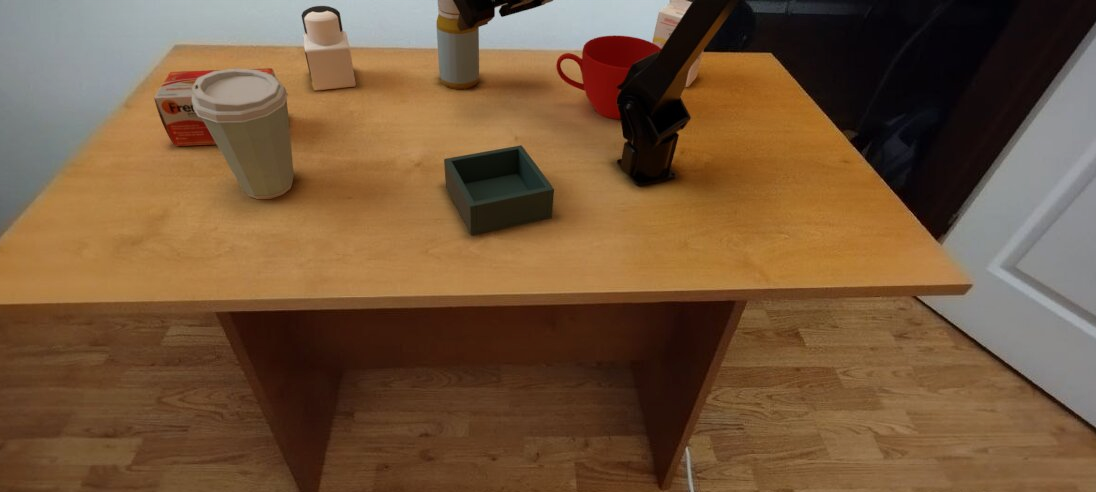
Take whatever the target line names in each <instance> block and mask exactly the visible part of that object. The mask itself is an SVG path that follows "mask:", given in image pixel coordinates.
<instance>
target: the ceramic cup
mask: <svg viewBox="0 0 1096 492" xmlns="http://www.w3.org/2000/svg"><path fill="white" fill-rule="evenodd" d="M660 50H661V48H660V47H658V46H657V45H655V44H653V43H652V41H649V40H646V39H642V38H640V37H634V36H629V35H604V36H603V35H602V36H598V37H594V38H592V39H589V40H588V41H586V42H585V44H584V45H583V47H582V53H581V57H580V56H578V55H576V54H574V53H570V52H567V53H566V52H565V53H563V54H561V55H560V56H559V57H558V59H557V60H556V66H555V67H556V71H557V74H558V75H559V77H560V78H561V79H562V81H563V82H565V83H566V84H568V85H570V86H572V87H574V88H576V89H579V90H580V91H584V92H585V95H586V98H587V99H588V101H589V102H590V104H591V105H592V106H593V108H594V110H595V111H596V112H597V113H598V114H599V115H601V116H603V117H605V118H608V119H615V120H621V118H620V112H619V110H618V105H617V103H616V100H617V96H618V94H619V92H620V91H621V89H618V88H617V86H618V85H620V84H622V82H623V81H624V80H625V78H626V76H627V74H628V71H629V69H630V67H631V66H632V64H634V63H636V62H638V61H640V60H642V59H644V58H646V57H648V56H650V55H652V54H654V53H656V52H658V53H659V52H660ZM564 60H572V61H574V62H575V63H577V65H578V66H579V69H580V72H581V78H582V83H581V82H579V81H576V80H574V79H572V78H570V77H568V76H567V75H566V74H565V73H564V71H563V70H562V66H561V65H562V62H563V61H564Z"/></svg>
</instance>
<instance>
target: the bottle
mask: <svg viewBox="0 0 1096 492" xmlns="http://www.w3.org/2000/svg"><path fill="white" fill-rule="evenodd" d="M437 12H438V14H437V19H436V39H437V57H438V58H437V59H438V73H439V80H440V82H441V83H442V84H443V85H444V86H445V87H447V88H449V89H453V90H454V89H455V90H465V89H470V88H473V87H474V86H475V85H477V84H478V82H479V80H480V32H479V31H480V29H479V28H480V27H477V28H472V29H467V30H463V31H460V30H459V29H458V27H457V21H458V17H459V11H458V9H457V7H456V5H455V3H454V1H453V0H437Z"/></svg>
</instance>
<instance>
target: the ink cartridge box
mask: <svg viewBox="0 0 1096 492" xmlns="http://www.w3.org/2000/svg"><path fill="white" fill-rule="evenodd" d="M692 2H693V1H689V0H669V3H668V4H667V5H666V6H664V7H663V8H662V9H660V10H659V11H658V14H657V18H656V21H655V22H656V23H655V27H654V33H653V37H652V41H651V43H653V44H655V45H657V46H658V47H660V48H661V49H662V47H663V46H664V44H665V43H666V41H667V40H668V38H669V37H670V35H671V34H672V32H673V31H674V29H675V28H676V26H677V24H678V23H679V21H680V20H681V18H682V17H683V15H684V14H685V12H686V11H687V9H688V8H689V6H690V5H691V3H692ZM704 50H705V49H704ZM704 50H703V51H702V53H701V54H700V55H699V57H698V58H697V59H696V61H695V62H694V63H693V65H692V66H691V68H690V70H689V72H688V77H687V82H686V86H685V88H689V87H690V85H691V84H692V83H693V82H694V81H695V80H696V78H697V77H698V73H699V69H700V65H701V62H702V58H703V54H704Z"/></svg>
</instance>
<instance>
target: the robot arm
mask: <svg viewBox="0 0 1096 492" xmlns="http://www.w3.org/2000/svg"><path fill="white" fill-rule="evenodd" d="M453 1H454V3H455V5H456V7H457V9H458V11H459V17H458V21H457V27H458V29H459V30H460V31H463V30H467V29H472V28H477V27H479V28H480V27H483V26H486V25H488V24H489V22H492V20H493V19H494V18H495V16H496V8H499V9H498V13H499V16H500V17H501V18H503V17H507V16H511V15H515V14H518V13H521V12H525V11H528V10H532V9H536V8H539V7H541V6H544V5H546V4H549V3H551V2H553V1H554V0H453ZM740 1H741V0H692V1H691V2H692V3H691V5H690V6H689V8H688V9H687V11H686V12H685V14H684V15H683V17H682V18H681V20H680V21H679V23H678V24H677V26H676V28H675V29H674V31H673V32H672V34H671V35H670V37H669V38H668V40H667V41H666V43H665V44H664V46H663V47H662V49H661V50H660V52H659V53H658V52H656V53H654V54H652V55H650V56H648V57H646V58H644V59H642V60H640V61H638V62H636V63H634V64H632V66H631V67H630V69H629V71H628V74H627V76H626V78H625V80H624V81H623V82H622V84H620V85H618V86H617V88H618V89H621V91H620V92H619V94H618V96H617V100H616V103H617V105H618V110H619V112H620V118H621V119H620V124H621V125H620V126H621V132H622V133H621V134H622V137H623V139H625V140H626V141H625V142H624V144H623V149H622V154H621V158H619V159H617V160H616V165H617V166H618V167H619V168H620V170H621V171H623V172H624V174H625V175H626V176H627V177H628V178H629V179H630V180H631V181H632V182H633V183H634V184H635V185H636V186H638V187H641V186H647V185H651V184H655V183H661V182H665V181H666V182H667V181H670V180H674V179H676V178H677V174H676V172H675V171H673V170H672V165H673V160H674V156H675V152H676V148H677V144H678V140H679V137H680V135H679V133H678V132H679V131H682V130H684V129H685V128H686V127H687V125H688V123H689V122H690V121H691V120H692V117H691V115H690V113H689V111H688V109H687V107H686V105H685V103H684V101H683V99H682V97H681V96H682V94H683V92H684V90H685V88H686V87H685V86H686V82H687V77H688V72H689V70H690V68H691V66H692V65H693V63H694V62H695V61H696V59H697V58H698V57H699V55H700V54H701V53H702V51H703V50H705V49H706V47H707V46H708V45H709V43H710V42H711V40H712V39H713V37H714V36H715V35H716V34H717V32H718V31H719V30H720V28H721V27H722V25H723V24H724V22H725V21H726V20H727V19H728V17H729V16H730V15H731V13H732V12H733V11H734V9H735V8H736V6H737V5H738V4H739V2H740ZM703 52H704V51H703Z"/></svg>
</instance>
